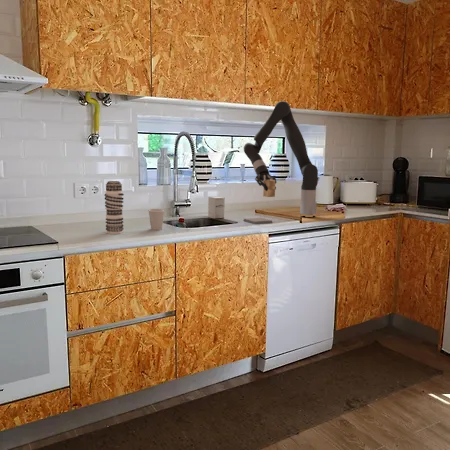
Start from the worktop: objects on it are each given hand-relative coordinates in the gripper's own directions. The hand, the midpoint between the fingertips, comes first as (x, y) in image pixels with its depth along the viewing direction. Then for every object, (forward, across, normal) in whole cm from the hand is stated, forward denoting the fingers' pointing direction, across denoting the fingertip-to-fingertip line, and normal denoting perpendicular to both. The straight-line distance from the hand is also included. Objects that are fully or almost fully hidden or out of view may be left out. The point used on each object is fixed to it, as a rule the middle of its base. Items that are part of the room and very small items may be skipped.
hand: (270, 189), depth 279 cm
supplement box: (-1, -27, +26) cm, 38 cm away
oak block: (+2, 0, +4) cm, 5 cm away
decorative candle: (+18, -97, +7) cm, 99 cm away
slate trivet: (+16, -12, +9) cm, 22 cm away
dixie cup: (+18, -75, +7) cm, 77 cm away
